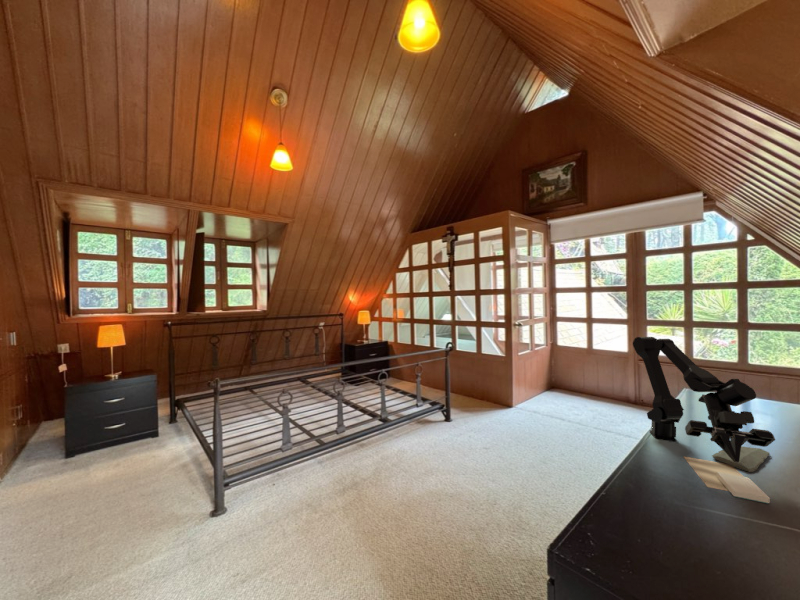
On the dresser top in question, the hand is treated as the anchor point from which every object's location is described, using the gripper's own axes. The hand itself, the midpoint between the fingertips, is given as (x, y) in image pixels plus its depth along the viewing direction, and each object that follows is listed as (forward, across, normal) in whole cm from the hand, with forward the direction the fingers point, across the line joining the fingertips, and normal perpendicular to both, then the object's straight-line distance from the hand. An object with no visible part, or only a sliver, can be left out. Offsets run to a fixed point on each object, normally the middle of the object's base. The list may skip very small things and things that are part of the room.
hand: (736, 462), depth 92 cm
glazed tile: (+2, 0, +6) cm, 6 cm away
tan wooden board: (+2, -2, +8) cm, 8 cm away
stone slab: (-10, +10, +20) cm, 24 cm away
